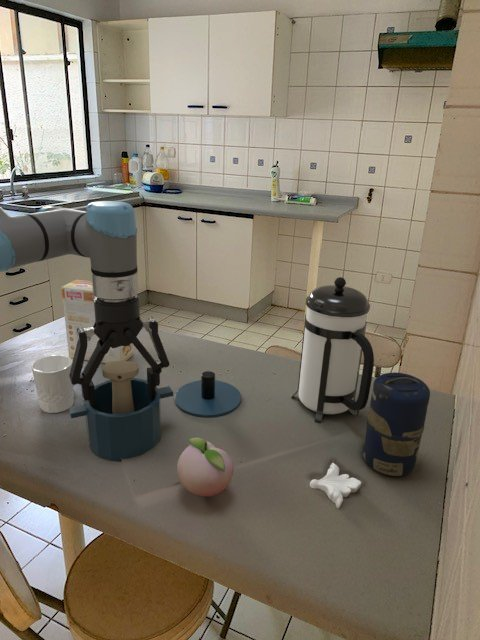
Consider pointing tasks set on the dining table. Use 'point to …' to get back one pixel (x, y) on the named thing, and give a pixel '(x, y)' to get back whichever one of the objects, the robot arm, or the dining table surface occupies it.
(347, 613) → the dining table surface
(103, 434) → the pot
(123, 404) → the handle
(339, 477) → the acanthus leaf ornament
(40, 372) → the white cup
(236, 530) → the dining table surface
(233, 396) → the lid
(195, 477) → the decorative fruit
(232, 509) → the dining table surface
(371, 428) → the canister
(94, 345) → the coffeecake box
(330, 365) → the coffee press
